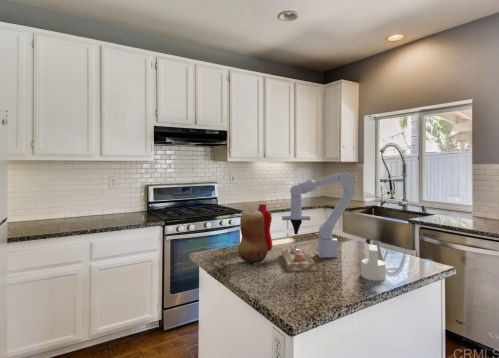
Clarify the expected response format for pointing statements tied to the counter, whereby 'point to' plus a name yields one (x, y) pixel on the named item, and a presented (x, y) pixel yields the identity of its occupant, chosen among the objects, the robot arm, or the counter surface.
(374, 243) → the flask
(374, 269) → the base with upright slab
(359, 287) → the counter surface
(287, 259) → the socket block
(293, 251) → the steel plunger
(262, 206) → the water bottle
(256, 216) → the butternut squash
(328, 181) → the robot arm
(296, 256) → the pink rounded block
